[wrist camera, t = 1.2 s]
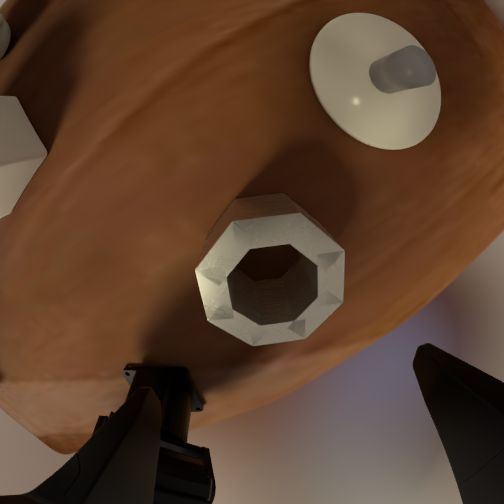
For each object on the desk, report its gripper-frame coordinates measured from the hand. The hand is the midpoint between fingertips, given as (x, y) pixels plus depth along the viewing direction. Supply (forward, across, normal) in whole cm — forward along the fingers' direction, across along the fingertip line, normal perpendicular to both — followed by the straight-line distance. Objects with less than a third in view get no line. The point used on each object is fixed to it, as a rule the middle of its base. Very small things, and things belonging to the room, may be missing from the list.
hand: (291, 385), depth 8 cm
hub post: (+11, -9, -11) cm, 18 cm away
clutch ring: (+11, 0, 0) cm, 11 cm away
